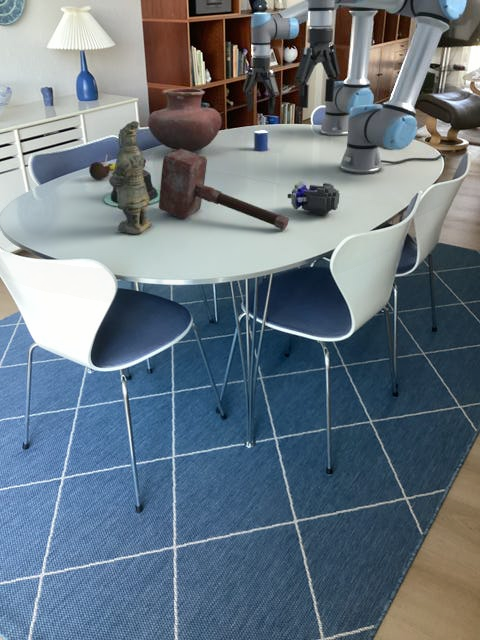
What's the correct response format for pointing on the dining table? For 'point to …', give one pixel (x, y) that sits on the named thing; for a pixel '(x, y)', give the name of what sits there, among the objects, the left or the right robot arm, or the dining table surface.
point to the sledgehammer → (200, 190)
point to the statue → (131, 182)
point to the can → (260, 140)
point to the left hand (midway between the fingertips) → (260, 112)
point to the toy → (315, 198)
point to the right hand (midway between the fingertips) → (316, 104)
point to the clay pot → (185, 121)
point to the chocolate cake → (152, 192)
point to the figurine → (102, 169)
